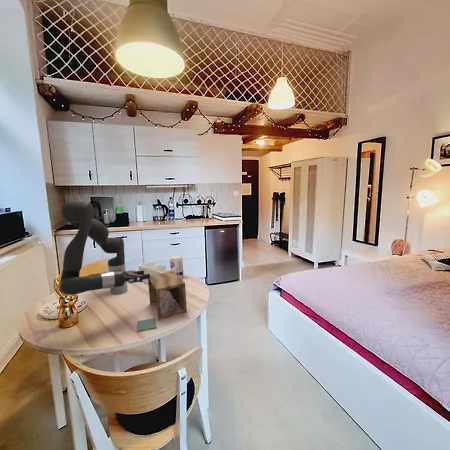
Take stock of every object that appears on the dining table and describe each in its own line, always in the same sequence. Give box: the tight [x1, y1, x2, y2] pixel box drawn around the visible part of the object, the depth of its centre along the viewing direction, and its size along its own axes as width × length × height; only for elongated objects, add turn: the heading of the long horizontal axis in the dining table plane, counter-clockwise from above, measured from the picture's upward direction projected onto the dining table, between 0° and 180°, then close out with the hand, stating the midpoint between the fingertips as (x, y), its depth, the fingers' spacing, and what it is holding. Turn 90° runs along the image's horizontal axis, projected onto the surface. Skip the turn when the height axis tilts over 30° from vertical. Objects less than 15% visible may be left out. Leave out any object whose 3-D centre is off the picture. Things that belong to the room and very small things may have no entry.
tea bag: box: [159, 290, 175, 312], centre depth 131 cm, size 4×7×10 cm, turn 58°
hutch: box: [147, 271, 188, 321], centre depth 131 cm, size 14×19×16 cm
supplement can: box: [169, 255, 184, 280], centre depth 172 cm, size 8×8×15 cm
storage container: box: [137, 260, 176, 285], centre depth 166 cm, size 25×11×11 cm, turn 51°
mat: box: [136, 317, 158, 333], centre depth 117 cm, size 8×8×1 cm
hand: (146, 274), depth 126 cm, fingers open, 8 cm apart
